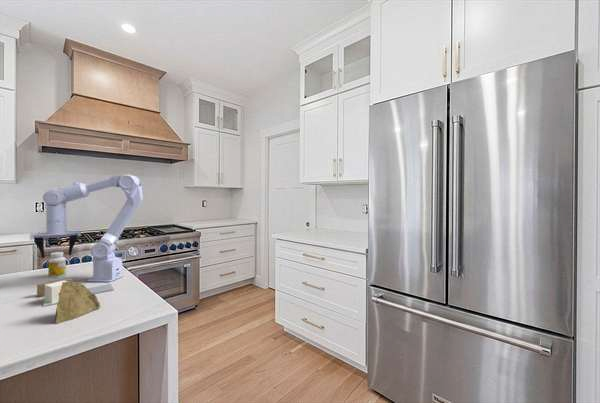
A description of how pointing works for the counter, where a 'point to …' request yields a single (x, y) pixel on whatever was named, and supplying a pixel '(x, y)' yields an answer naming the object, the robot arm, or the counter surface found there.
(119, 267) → the robot arm
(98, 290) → the grey mat
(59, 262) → the supplement bottle
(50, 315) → the counter surface
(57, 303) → the green mat
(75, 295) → the rock
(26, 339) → the counter surface
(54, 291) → the lettered cube
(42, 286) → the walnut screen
